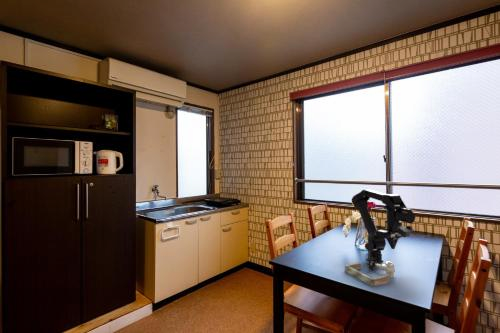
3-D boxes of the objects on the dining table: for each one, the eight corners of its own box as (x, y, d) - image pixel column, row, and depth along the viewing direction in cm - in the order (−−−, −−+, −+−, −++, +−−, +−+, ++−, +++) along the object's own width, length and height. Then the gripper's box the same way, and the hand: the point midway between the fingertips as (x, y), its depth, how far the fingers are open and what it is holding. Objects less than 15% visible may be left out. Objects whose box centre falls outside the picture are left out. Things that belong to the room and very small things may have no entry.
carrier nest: (344, 271, 125) (344, 265, 125) (359, 267, 129) (359, 262, 129) (373, 286, 109) (373, 279, 109) (388, 282, 113) (388, 275, 113)
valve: (398, 276, 119) (374, 267, 129) (398, 262, 119) (374, 255, 129) (390, 279, 116) (367, 270, 126) (390, 266, 116) (367, 257, 126)
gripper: (394, 224, 115) (394, 257, 115) (420, 220, 122) (420, 251, 122) (374, 219, 125) (374, 249, 125) (399, 216, 132) (399, 244, 133)
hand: (392, 249), depth 126 cm, fingers closed
